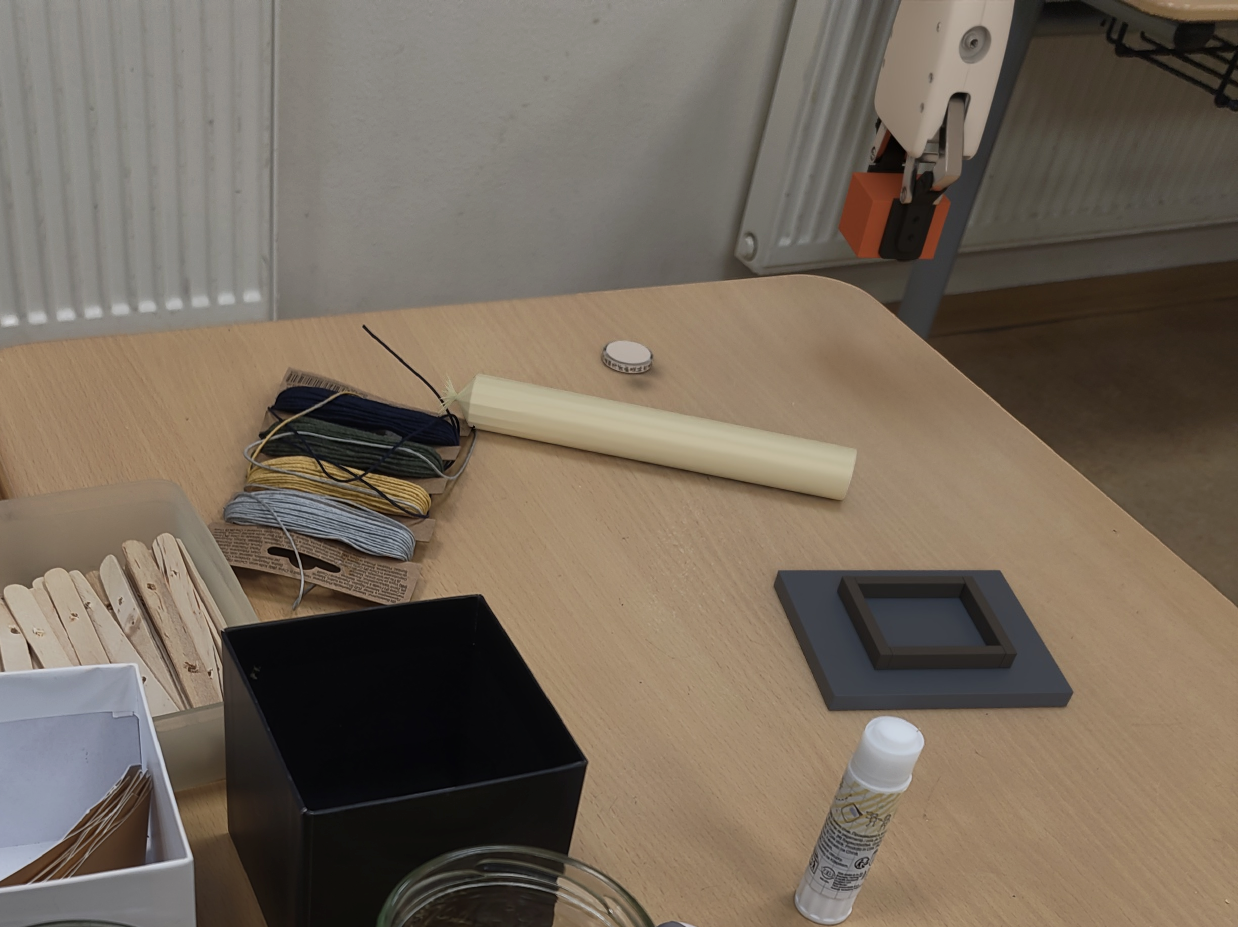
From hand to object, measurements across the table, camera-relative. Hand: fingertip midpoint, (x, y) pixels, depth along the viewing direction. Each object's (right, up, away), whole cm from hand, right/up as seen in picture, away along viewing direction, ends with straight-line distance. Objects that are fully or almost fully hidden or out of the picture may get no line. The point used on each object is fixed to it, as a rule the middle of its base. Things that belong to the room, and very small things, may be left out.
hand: (886, 237), depth 109 cm
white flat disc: (-19, -7, +5) cm, 21 cm away
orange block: (0, 0, 0) cm, 0 cm away
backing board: (-2, -35, -14) cm, 38 cm away
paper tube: (-19, -18, -3) cm, 27 cm away
